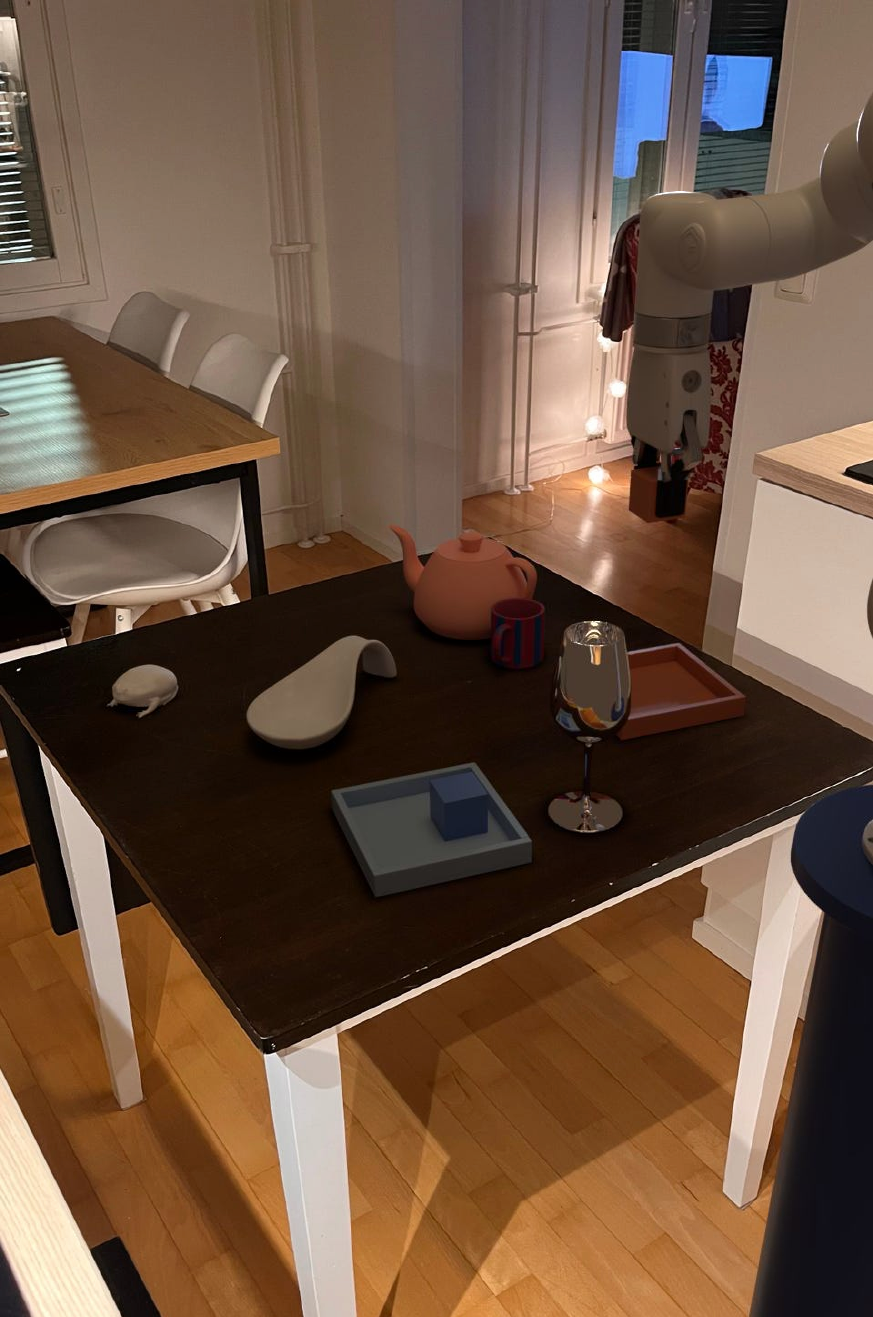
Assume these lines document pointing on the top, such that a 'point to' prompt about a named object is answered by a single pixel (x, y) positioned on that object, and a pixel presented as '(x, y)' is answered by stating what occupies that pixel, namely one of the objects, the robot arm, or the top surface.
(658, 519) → the terracotta block
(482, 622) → the teapot
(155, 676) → the frog figurine
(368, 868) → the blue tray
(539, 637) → the mug
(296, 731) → the spoon rest
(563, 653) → the wineglass
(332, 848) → the top surface
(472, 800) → the blue block
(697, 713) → the terracotta tray
